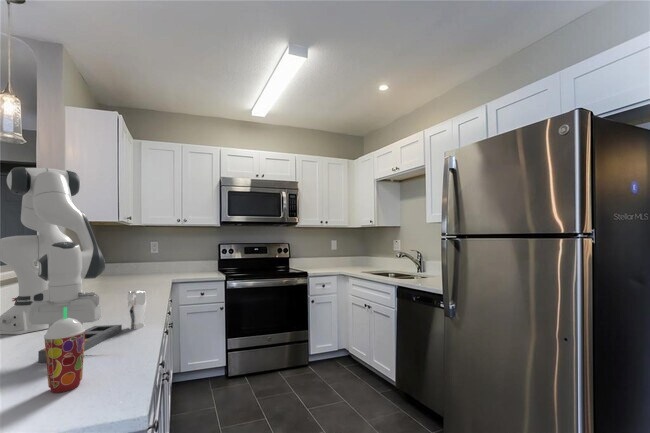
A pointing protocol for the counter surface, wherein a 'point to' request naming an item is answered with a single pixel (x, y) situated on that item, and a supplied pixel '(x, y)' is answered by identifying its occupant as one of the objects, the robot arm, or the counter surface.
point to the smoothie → (64, 354)
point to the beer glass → (136, 308)
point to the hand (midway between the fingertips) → (65, 337)
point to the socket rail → (91, 338)
